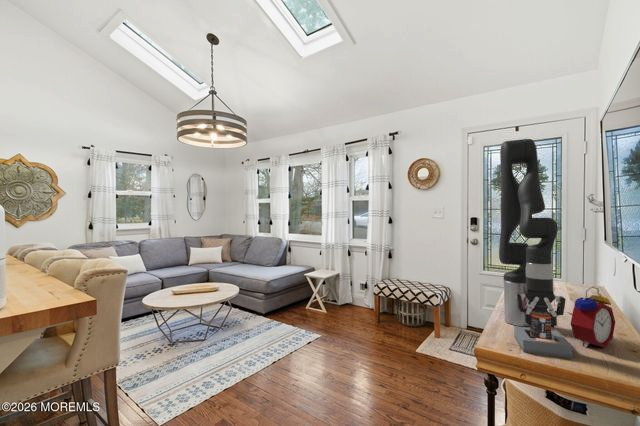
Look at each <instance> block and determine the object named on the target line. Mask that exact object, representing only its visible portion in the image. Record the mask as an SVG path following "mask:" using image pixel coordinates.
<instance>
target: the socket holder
mask: <svg viewBox="0 0 640 426" xmlns="http://www.w3.org/2000/svg"><path fill="white" fill-rule="evenodd" d="M513 326H514V327H513V328H514V329H513V330H514V331H513V332H514V333H513V335H514V339H515V340H516V342H517V344H518V346H519V348H520V349H521V350H522V352H523V353H528V354H534V355H542V356H549V357H556V358H557V357H558V358H564V359H565V358H567V359H573V357H574V356H573V354H574V353H573V345H572V344H571V343H570V342H569V341H568V340H567V339H566V338H565V337H564V336H563V335H562V333H560V332H559V331H558V330H556V329H555V330H553V329H551V334H552V337H551V340H547V339H539V338H536V339H534V338H532V337H531V336H530V327H528V326H517V325H513Z"/></svg>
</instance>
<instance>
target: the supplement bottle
mask: <svg viewBox="0 0 640 426" xmlns="http://www.w3.org/2000/svg"><path fill="white" fill-rule="evenodd" d="M530 315H531V325H530V326H529V328H530V336H531V337H532V338H534V339H536V338H539V339H547V340H551V337H552V334H551V330H552V327H551V314H550V312H549V310H548V309H547V306H540V305H535V306H534V308H533V309H532V311H531V312H530Z"/></svg>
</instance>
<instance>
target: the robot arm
mask: <svg viewBox="0 0 640 426" xmlns="http://www.w3.org/2000/svg"><path fill="white" fill-rule="evenodd" d="M499 151H500V153H499V155H500V156H499V157H500V159H499V160H500V173H501V174H500V176H501V177H500V178H501V185H500V188H501V189H500V235H499V236H500V237H499V248H498V249H499V250H498V259H499V262H500V263H501V264H503V265H510V266H511V265H512V266H513V265H514V266H519V267H518V268H515V269H514V270H511V271H507V272H504V273H503V303H504V304H503V306H504V307H503V308H504V311H503V312H504V313H503V314H504V315H503V316H504V322H506V323H507V324H509V325H513V326H517V327H528V326H529V327H530V325H531V315H530V312H531V311H532V309H533V308H534V306H535V305H540V306H547V310H548V312H550V314H551V329H553V328H555V327H557V325H558V324H557V317H559V316H563V315H564V314H565V306H566V300H567V299H566V298H565V297H564V296H562V295H555V293H554V269H553V261H552V255H553V254H552V251H553V247H554V244H555V240H556V237H557V234H558V231H559V229H558V224H557V222H556V220H555V219H553V218H551V217H533V215H536V214H540V213H543V211H545V209H546V205H545V201H544V196H543V193H542V189H541V185H540V184H541V183H540V173H539V160H538V159H539V158H538V151H537V146H536V143H535V141H534V140H533V139H531V138H523V139H515V140H506V141H503V142H502V144H501V145H500V150H499ZM521 164H523V165H524V164H526V171H525V175H524V177H523V178H522V180H521V181H520V182H519V181H517V179H516V177H515V174H514V172H513V165H521ZM517 228H518V229H519V233H520V234H521V235H522V236H523V237H524V238H526V239H540V240H539V242H538V243H535V244H530V245H529V244H528V243H526V242H510V241H511V238H512V235H513V234H514V231H515V230H516V229H517ZM554 301H556V303H557V305H556V310H555V308H554V306H553V305H552V302H554Z"/></svg>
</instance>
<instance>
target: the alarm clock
mask: <svg viewBox="0 0 640 426" xmlns="http://www.w3.org/2000/svg"><path fill="white" fill-rule="evenodd" d="M591 289H595V290H597V291H596V292H597V294H595V295H594V294H592V295H590V296H589V297H588V291H590V290H591ZM611 304H612V303H611V302H610V299H609V298H608V297H605V296H603V295H602V293H600V289H599V288H598V287H596V286H591V287H589V288H587V290H585V295H584V297H579V298H576V299H575V301H574V306H573V310H572V313H571V312H566V313H567V314H569V315H570V316H571V320H569V322H570V327H571V330H572V334H573V337H574V339H576V340H579V341H581V342H584V343H583V346H584V348H587V347H589V344H591V345H594V346H597V347H600V348H603V349H605V348H606V347H607V346H608V345H609V344H610V342H611V341H612V340H613V338H614V333H615V327H616V320H615V315H614V312H613V308H612V307H610V305H611Z"/></svg>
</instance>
